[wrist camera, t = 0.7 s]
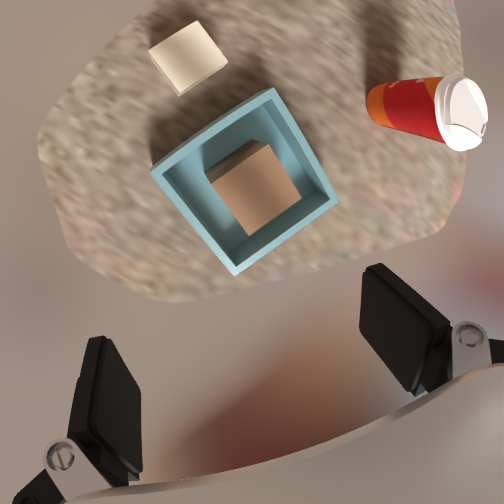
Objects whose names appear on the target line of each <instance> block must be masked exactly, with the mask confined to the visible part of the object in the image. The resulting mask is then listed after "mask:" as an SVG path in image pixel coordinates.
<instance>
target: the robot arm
mask: <svg viewBox="0 0 504 504" xmlns="http://www.w3.org/2000/svg"><path fill="white" fill-rule="evenodd" d="M359 329H360V332H361V334H362V335H363V337H364V338H365V339H366V340H367V342H368V343H369V344H370V345H371V347H372V348H373V349H374V351H375V352H376V353H377V354H378V356H379V357H380V358H381V359H382V361H383V362H384V363H385V364H386V366H387V367H388V368H389V370H390V371H391V372H392V373H393V375H394V376H395V377H396V379H397V380H398V381H399V382H400V384H401V385H402V386H403V388H404V389H405V390H406V391H407V392H409V391H410V392H411V393H412V394H413V395H414V396H415V397H416V396H417V395H419V394H421V393H423V392H424V391H427V392H428V394H426V395H425V396H423V397H421V398H419V399H417V400H415V401H413V402H412V403H410V404H408V405H406V406H404V407H403V408H400V409H398V410H397V411H395V412H393V413H391V414H389V415H387V416H384V417H382V418H380V419H378V420H376V421H374V422H372V423H370V424H368V425H366V426H363V427H361V428H358V429H356V430H354V431H352V432H349V433H347V434H345V435H342V436H339V437H337V438H334V439H332V440H329V441H327V442H324V443H321V444H319V445H316V446H313V447H310V448H308V449H305V450H302V451H299V452H296V453H293V454H290V455H286V456H283V457H280V458H277V459H273V460H270V461H266V462H263V463H259V464H255V465H251V466H248V467H244V468H239V469H235V470H231V471H226V472H221V473H217V474H211V475H206V476H201V477H195V478H189V479H182V480H175V481H169V482H161V483H153V484H143V485H133V486H129V482H128V481H139V473H140V472H142V470H143V463H142V440H141V439H142V438H141V392H140V389H139V387H138V385H137V383H136V381H135V380H134V378H133V377H132V375H131V373H130V372H129V370H128V368H127V367H126V365H125V363H124V361H123V360H122V358H121V356H120V354H119V353H118V351H117V349H116V347H115V345H114V344H113V341H112V340H111V339H107V338H106V337H105V336H98V337H93V338H90V339H89V340H88V343H87V347H86V351H85V356H84V359H83V364H82V368H81V373H80V377H79V378H78V380H77V384H76V389H75V393H74V398H73V404H72V409H71V414H70V420H69V426H68V433H67V438H58V439H55V440H54V441H52V442H51V443H50V444H49V445H48V446H47V447H46V449H45V451H44V454H43V464H44V466H45V469H44V470H43V471H42V472H41V473H39V475H37V476H36V477H35V478H34V479H33V480H32V481H31V482H30V483H28V485H26V486H25V487H24V488H23V489H22V490H21V491H20V492H18V493H17V495H16V496H15V497H14V499H13V502H12V504H504V341H503V340H495V339H488V336H487V333H486V331H485V330H484V328H482V327H481V326H480V325H478V324H476V323H474V322H468V321H466V322H460V323H458V324H456V325H455V326H454V328H453V327H452V326H450V321H449V320H448V319H447V318H446V317H444V316H443V315H442V314H441V313H440V312H439V311H438V310H437V309H435V308H434V307H433V306H432V305H431V304H430V303H429V302H427V301H426V300H425V299H424V298H423V297H422V296H421V295H419V294H418V293H417V292H416V291H415V290H413V289H412V288H411V287H410V286H409V285H408V284H407V283H405V282H404V281H403V280H402V279H401V278H399V277H398V276H397V275H396V274H395V273H393V272H392V271H391V270H390V269H388V268H387V267H386V266H385V265H384V264H382V263H378V264H375V265H371V266H369V267H367V268H366V270H365V272H363V275H362V293H361V308H360V321H359Z"/></svg>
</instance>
